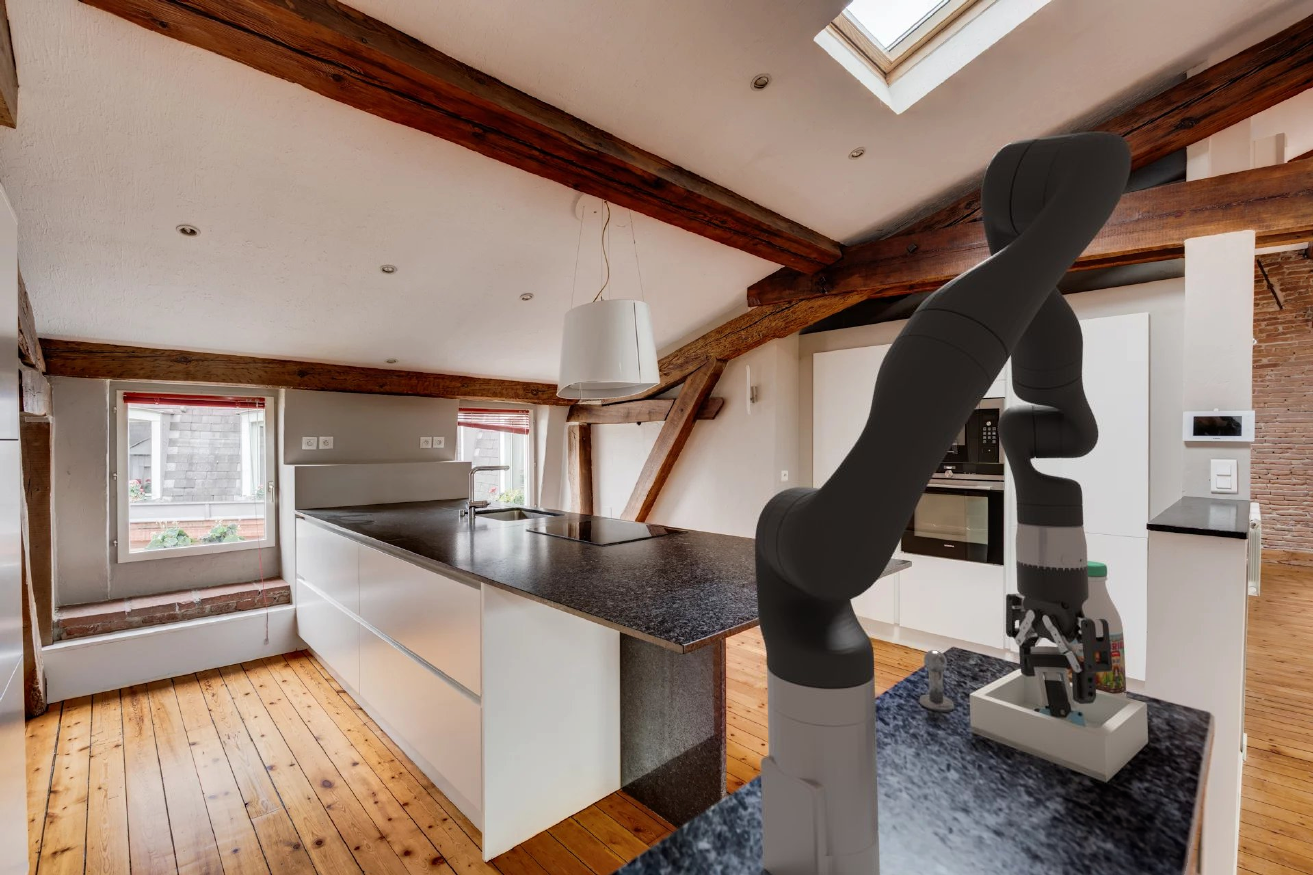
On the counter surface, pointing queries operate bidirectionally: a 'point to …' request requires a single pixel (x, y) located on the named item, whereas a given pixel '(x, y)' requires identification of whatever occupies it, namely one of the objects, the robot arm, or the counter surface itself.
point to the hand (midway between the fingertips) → (1055, 687)
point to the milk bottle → (1104, 608)
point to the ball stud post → (936, 683)
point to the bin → (1061, 726)
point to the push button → (1054, 684)
